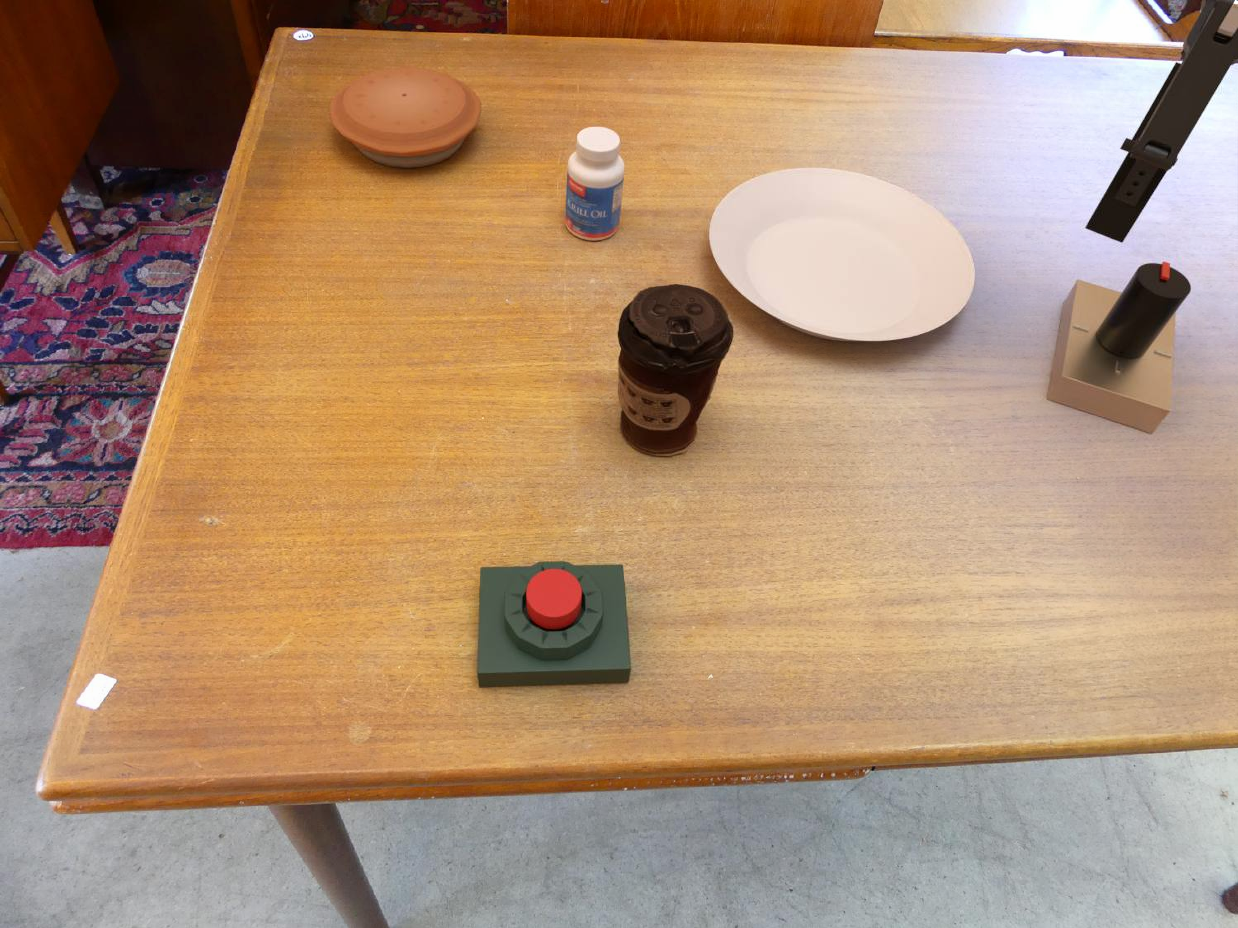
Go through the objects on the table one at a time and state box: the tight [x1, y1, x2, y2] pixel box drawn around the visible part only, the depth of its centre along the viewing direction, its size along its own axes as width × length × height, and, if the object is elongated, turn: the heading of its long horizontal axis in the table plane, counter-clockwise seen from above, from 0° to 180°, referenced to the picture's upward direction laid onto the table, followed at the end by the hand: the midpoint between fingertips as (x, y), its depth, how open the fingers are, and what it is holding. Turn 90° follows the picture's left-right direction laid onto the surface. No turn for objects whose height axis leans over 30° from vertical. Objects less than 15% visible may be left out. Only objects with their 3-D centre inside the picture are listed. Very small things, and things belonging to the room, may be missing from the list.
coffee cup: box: [617, 283, 734, 457], centre depth 70 cm, size 9×8×13 cm
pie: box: [328, 66, 482, 169], centre depth 96 cm, size 15×16×5 cm
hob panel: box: [1046, 279, 1177, 434], centre depth 83 cm, size 14×9×3 cm, turn 157°
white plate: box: [708, 167, 976, 342], centre depth 88 cm, size 25×25×4 cm
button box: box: [476, 560, 632, 688], centre depth 62 cm, size 10×8×4 cm
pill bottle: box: [564, 126, 626, 242], centre depth 87 cm, size 6×5×10 cm
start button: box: [526, 569, 582, 630], centre depth 60 cm, size 4×4×2 cm
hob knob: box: [1097, 261, 1192, 358], centre depth 79 cm, size 4×4×7 cm
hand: (1127, 188), depth 70 cm, fingers open, 13 cm apart
